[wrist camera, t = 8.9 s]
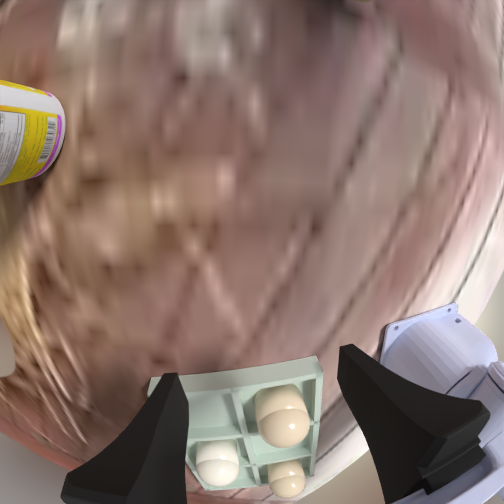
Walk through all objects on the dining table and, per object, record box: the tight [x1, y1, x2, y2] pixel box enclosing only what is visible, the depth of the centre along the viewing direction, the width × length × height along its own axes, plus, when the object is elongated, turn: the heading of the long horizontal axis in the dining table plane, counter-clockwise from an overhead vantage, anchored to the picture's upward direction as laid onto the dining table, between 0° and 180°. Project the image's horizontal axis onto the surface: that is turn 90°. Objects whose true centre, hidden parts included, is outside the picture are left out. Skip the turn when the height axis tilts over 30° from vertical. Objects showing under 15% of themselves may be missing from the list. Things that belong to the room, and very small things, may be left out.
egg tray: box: [147, 355, 323, 491], centre depth 25 cm, size 15×22×2 cm
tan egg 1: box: [253, 383, 310, 448], centre depth 21 cm, size 4×4×5 cm
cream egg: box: [196, 439, 239, 487], centre depth 23 cm, size 4×4×5 cm
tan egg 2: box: [266, 458, 306, 498], centre depth 26 cm, size 4×4×5 cm
